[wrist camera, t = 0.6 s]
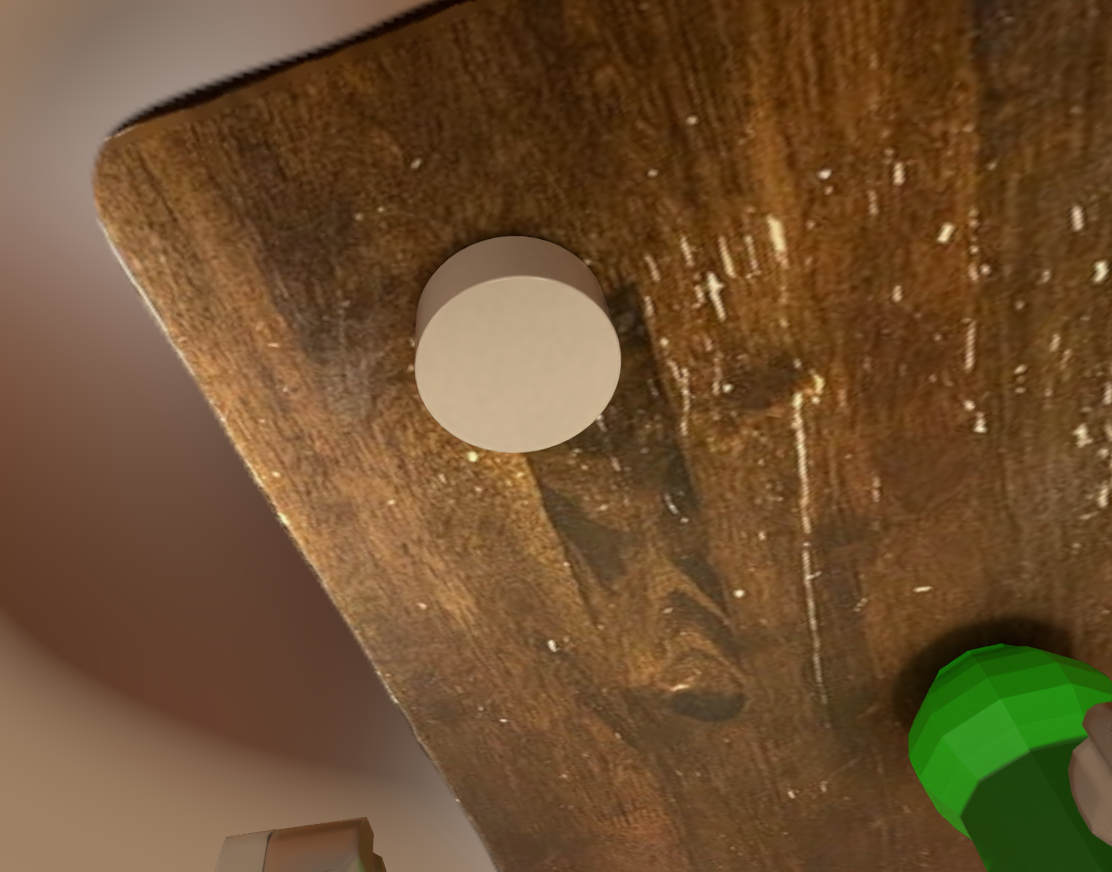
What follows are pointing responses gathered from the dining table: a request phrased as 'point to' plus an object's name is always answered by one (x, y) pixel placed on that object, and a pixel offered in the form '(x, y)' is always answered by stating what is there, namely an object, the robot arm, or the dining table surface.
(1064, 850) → the plastic bottle
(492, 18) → the dining table surface
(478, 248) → the beige hockey puck
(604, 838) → the dining table surface
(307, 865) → the robot arm
